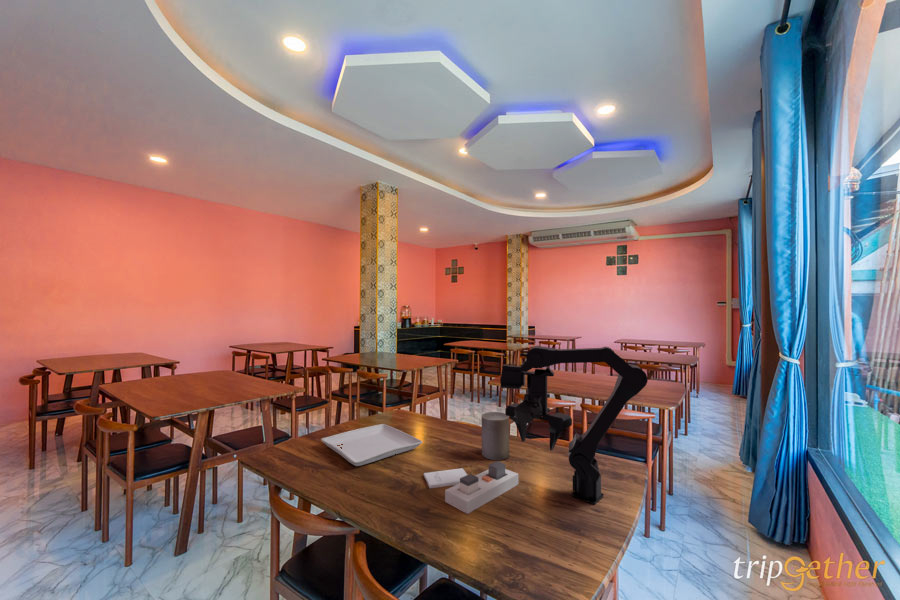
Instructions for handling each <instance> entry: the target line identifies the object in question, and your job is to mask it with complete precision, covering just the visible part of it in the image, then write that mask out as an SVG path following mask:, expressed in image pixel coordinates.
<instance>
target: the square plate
mask: <svg viewBox="0 0 900 600" xmlns="http://www.w3.org/2000/svg"><path fill="white" fill-rule="evenodd" d="M320 440H321V442H323V444H324V445H325V446H327V447H328V448H330V449H331V450H333V451H334V452H335V453H336V454H339V455H340V456H341V457H343V458H344V459H345V460H346V461H347V462H349V463H350V464H351V465H353V466H355V467H361V466H363V465H367V464H370V463H373V462H377V461H379V460H383V459H385V458H388V457H391V456H392V457H393V456H395V454H396V455H398V454H402V453H405V452H408V451H412V450H414V449H416V448H417V447H419V446H420V445H421V444H423V440H421V439H418V438H417V437H415V436H412V435H411V434H408V433H406V432H404V431H402V430H400V429H397V428H396V427H393V426H390V425H388V424H386V423H381V424H380V423H379V424H375V425H370V426H366V427H360V428H357V429H353V430H349V431H344V432H341V433H337V434H336V433H335V434H333V435H330V436H326V437H322V438H320ZM341 444H343V445H341ZM337 445H340V446H337ZM340 447H342V449H341V448H340Z"/></svg>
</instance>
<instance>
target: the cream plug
mask: <svg viewBox="0 0 900 600" xmlns="http://www.w3.org/2000/svg"><path fill="white" fill-rule="evenodd" d="M476 491H478V477H476V475H474V474H473V473H469V474H467V475H466V476H464V477H462V478H460V492H462V493H464V494H466V495H470V494H472V493H474V492H476Z"/></svg>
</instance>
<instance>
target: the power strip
mask: <svg viewBox="0 0 900 600" xmlns="http://www.w3.org/2000/svg"><path fill="white" fill-rule="evenodd" d="M475 476H476V477H478V491H476V492H474V493H472V494H470V495H466V494H464V493H462V492H460V483H459V484H457V485H452V486H451V487H449V488H447V489H445V490H444V502H445V503H446V504H448V505H450V506H452V507H454V508H455V509H458V510H459V511H461V512H463V513H464V514H466V515H468V514H470V513H472V512H474V511H476V510H477V509H478V508H480V507H482V506H484V505H485V504H487V503H489V502H491V501H493V500H494V499H496V498H498V497H499V496H501V495H503V494H505V493H506V492H508V491H510V490H511V489H513V488H514V487H517V486H518V485H519V473H517V472H514V471H512V470H510V469H508V468H505V476H504V477H502V478H500V479H498V480H496V479H493V478H491V477H489V468H488V469H486V470H484V471H483V472H480V473H477V474H476V475H475Z"/></svg>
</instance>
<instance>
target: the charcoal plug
mask: <svg viewBox="0 0 900 600" xmlns="http://www.w3.org/2000/svg"><path fill="white" fill-rule="evenodd" d="M488 469H489V477H491V478H493V479H496V480H498V479H500V478H502V477H504V476H505V469H506V464H505V463H503V462H502V461H500V460H495V462H492V463H489V464H488Z"/></svg>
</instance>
